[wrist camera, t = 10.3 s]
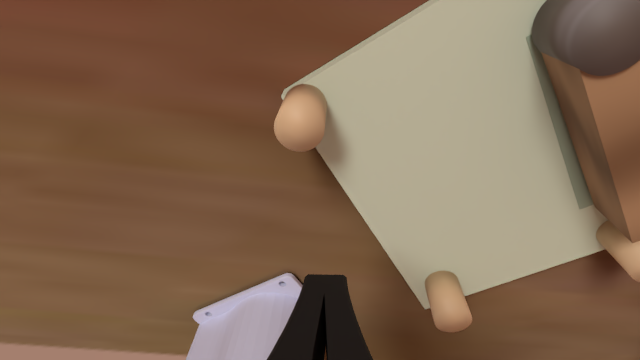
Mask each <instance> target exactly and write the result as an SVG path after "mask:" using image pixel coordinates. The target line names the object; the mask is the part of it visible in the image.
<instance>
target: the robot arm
mask: <svg viewBox="0 0 640 360" xmlns="http://www.w3.org/2000/svg"><path fill="white" fill-rule="evenodd" d="M283 282H284V283H283ZM193 319H194V320H195V321H196V322H198V323H199V324H200V325H199V327H198V330H197V332H196V335H195V337H194V340H193V342H192V345H191V348H190V350H189V353H188V355H187V358H186V360H324V355H325V347H326V354H327V360H373V359H372V356H371V354H370V352H369V350H368V347H367V345H366V343H365V340H364V338H363V335H362V333H361V330H360V327H359V325H358V322H357V319H356V316H355V313H354V310H353V307H352V303H351V300H350V296H349V292H348V286H347V278H346V277H345V276H344V275H309V274H308V275H307V276H306V277H305V279H304V283H303V285H302V284H301V283H300V282H299V280H298V279H297V278H296V277H295V276H294V275H293V274H291V273H286V274H283V275H280V276H278V277H276V278H273V279H271V280H269V281H266V282H264V283H261V284H259V285H257V286H254V287H252V288H250V289H247V290H245V291H242V292H240V293H238V294H235V295H233V296H231V297H228V298H226V299H223V300H221V301H219V302H216V303H214V304H212V305H209V306H207V307H204V308H202V309H200V310H197V311H196V312H195V313H194V315H193Z"/></svg>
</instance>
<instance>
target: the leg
mask: <svg viewBox="0 0 640 360" xmlns="http://www.w3.org/2000/svg"><path fill="white" fill-rule="evenodd" d="M532 39H533V42H534V44H535V46H536V48H537V49H538V50H539V51H540V52H541V53H542V56H543V59H544V62H545V65H546V68H547V70H548V73H549V76H550V79H551V82H552V85H553V88H554V91H555V94H556V96H557V99H558V102H559V105H560V108H561V111H562V114H563V117H564V119H565V122H566V125H567V128H568V131H569V134H570V137H571V140H572V142H573V145H574V148H575V151H576V154H577V157H578V160H579V163H580V166H581V168H582V171H583V174H584V177H585V180H586V183H587V186H588V189H589V191H590V194H591V197H592V200H593V203H594V206H595V208H596V209H597V210H598V211H599V212H600V213H601V214H602V215H604V216H605V217H606V218H607V219H608V220H609V221H610V222H611V223H612V224H613V225H614V226H615V227H616V228H617V229H618V230H619V231H620V232H621V233H622V234H623V235H624V236H625V237H626V238H627V239H628V240H630V241H631V242H632V243H635V242H638V241H640V0H546V1H545V2H544V4H543V5H542V6H541V8H540V9H539V11H538V12H537V14H536V16H535V19H534V22H533V26H532Z"/></svg>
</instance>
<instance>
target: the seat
mask: <svg viewBox="0 0 640 360" xmlns="http://www.w3.org/2000/svg"><path fill="white" fill-rule="evenodd" d="M545 1H546V0H429V1H428V2H426V3H424V4H423V5H421V6H420V7H418V8H416V9H415V10H413V11H411V12H410V13H408V14H407V15H405V16H403V17H402V18H400V19H398V20H397V21H395V22H394V23H392V24H390V25H389V26H387V27H385V28H384V29H382V30H380V31H379V32H377V33H376V34H374V35H372V36H371V37H369V38H367V39H366V40H364V41H363V42H361V43H359V44H358V45H356V46H354V47H353V48H351V49H350V50H348V51H346V52H345V53H343V54H341V55H340V56H338V57H337V58H335V59H333V60H332V61H330V62H328V63H327V64H325V65H324V66H322V67H320V68H319V69H317V70H315V71H314V72H312V73H310V74H309V75H307V76H306V77H304V78H302V79H301V80H299V81H297V82H296V83H294V84H293V85H291V86H289V87H288V88H286V89H284V91H283V94H282V96H281V98H282V99H283V103H282V105H281V107H280V110H279V112H278V114H277V117H276V119H275V122H274V131H275V135H276V137H277V139H278V140H279V142H280V143H281V144H282V145H283V146H285V147H286V148H288V149H290V150H293V151H297V152H304V151H308V150H311V149H313V148H316V149H317V151H318V152H319V154H320V155H321V157H322V158H323V160H324V161H325V162H326V164H327V165H328V167H329V168H330V170H331V171H332V173H333V174H334V176H335V177H336V179H337V180H338V182H339V183H340V185H341V186H342V188H343V189H344V191H345V192H346V194H347V195H348V196H349V198H350V199H351V201H352V202H353V204H354V205H355V207H356V208H357V210H358V211H359V213H360V214H361V216H362V217H363V219H364V220H365V222H366V223H367V225H368V226H369V227H370V229H371V230H372V232H373V233H374V235H375V236H376V238H377V239H378V241H379V242H380V244H381V245H382V247H383V248H384V250H385V251H386V253H387V254H388V256H389V257H390V258H391V260H392V261H393V263H394V264H395V266H396V267H397V269H398V270H399V272H400V273H401V275H402V276H403V278H404V279H405V281H406V282H407V284H408V285H409V287H410V288H411V289H412V291H413V292H414V294H415V295H416V297H417V298H418V300H419V301H420V303H421V304H422V306H423V307H424V309H428V308H431V312H432V316H433V320H434V323H435V326H436V327H437V328H438V329H439V330H441V331H444V332H458V331H461V330H464V329H465V328H467V327H468V326H469V325H470V324H471V322H472V315H471V313H470V310H469V307H468V305H467V302H466V299H465V297H464V296H467V295H470V294H473V293H476V292H479V291H482V290H485V289H488V288H491V287H494V286H497V285H500V284H503V283H506V282H509V281H512V280H515V279H518V278H521V277H524V276H527V275H530V274H533V273H536V272H539V271H542V270H545V269H548V268H551V267H554V266H557V265H560V264H563V263H566V262H569V261H572V260H575V259H578V258H581V257H584V256H587V255H590V254H593V253H596V252H599V251H602V250H605V249H606V250H607V251H608V252H609V253H610V254H611V255H612V257H613V258H614V259H615V260H616V261H617V262H618V263H619V264H620V265H621V266H622V267H623V268H624V269H625V271H626V272H627V273H628V274H629V275H630V276H631V277H632V278H633V279H634V280H636V281H638V282H640V241H638V242H635V243H632V242H631V241H630V240H628V239H627V238H626V237H625V236H624V235H623V234H622V233H621V232H620V231H619V230H618V229H617V228H616V227H615V226H614V225H613V224H612V223H611V222H610V221H609V220H608V219H607V218H606V217H605V216H604V215H602V214H601V213H600V212H599V211H598V210H597V209H596V208H595V206H594V203H593V200H592V197H591V194H590V191H589V189H588V186H587V183H586V180H585V177H584V174H583V171H582V168H581V166H580V163H579V160H578V157H577V154H576V151H575V148H574V145H573V142H572V140H571V137H570V134H569V131H568V128H567V125H566V122H565V119H564V117H563V114H562V111H561V108H560V105H559V102H558V99H557V96H556V94H555V91H554V88H553V85H552V82H551V79H550V76H549V73H548V70H547V68H546V65H545V62H544V59H543V56H542V53H541V52H540V51H539V50H538V49H537V48H536V46H535V44H534V42H533V39H532V26H533V22H534V19H535V16H536V14H537V12H538V11H539V9H540V8H541V6H542V5H543V4H544V2H545Z"/></svg>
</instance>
